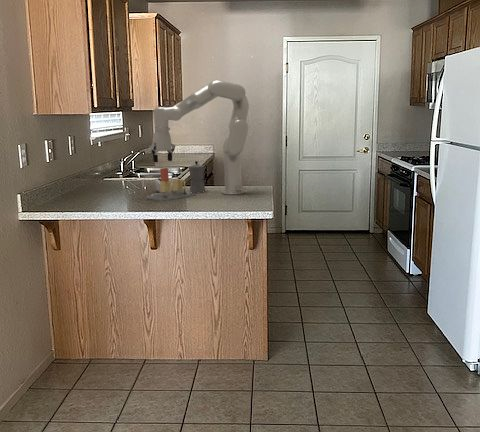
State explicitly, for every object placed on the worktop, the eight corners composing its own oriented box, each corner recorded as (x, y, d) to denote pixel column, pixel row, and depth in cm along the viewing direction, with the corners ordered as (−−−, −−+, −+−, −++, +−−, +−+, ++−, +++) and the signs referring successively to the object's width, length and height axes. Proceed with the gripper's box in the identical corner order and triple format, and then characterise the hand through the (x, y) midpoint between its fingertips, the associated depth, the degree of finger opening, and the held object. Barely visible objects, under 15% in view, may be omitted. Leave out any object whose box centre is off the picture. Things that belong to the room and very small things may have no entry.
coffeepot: (204, 193, 315) (202, 162, 311) (187, 193, 315) (186, 162, 312) (207, 189, 330) (206, 159, 326) (192, 189, 330) (190, 160, 327)
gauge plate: (195, 195, 309) (195, 179, 307) (161, 200, 292) (160, 184, 291) (180, 193, 318) (179, 178, 317) (146, 198, 302) (145, 182, 300)
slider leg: (175, 194, 302) (173, 168, 299) (170, 195, 300) (168, 169, 297) (165, 193, 308) (164, 167, 305) (160, 193, 306) (159, 168, 303)
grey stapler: (173, 194, 316) (166, 178, 313) (165, 197, 315) (159, 181, 312) (166, 190, 331) (159, 175, 328) (158, 193, 330) (152, 178, 327)
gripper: (170, 129, 307) (171, 160, 310) (144, 130, 295) (145, 162, 299) (178, 129, 302) (179, 160, 305) (152, 130, 290) (154, 163, 293)
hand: (162, 161), depth 302 cm, fingers open, 9 cm apart
